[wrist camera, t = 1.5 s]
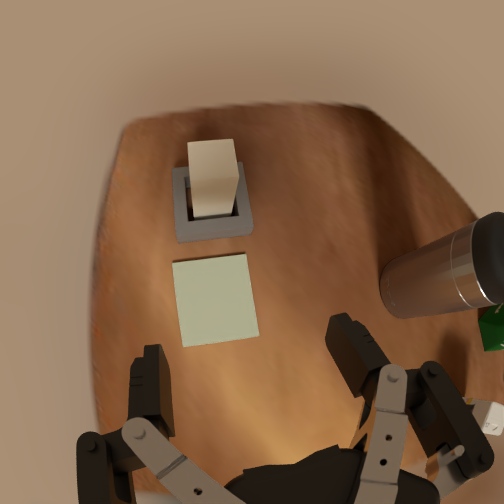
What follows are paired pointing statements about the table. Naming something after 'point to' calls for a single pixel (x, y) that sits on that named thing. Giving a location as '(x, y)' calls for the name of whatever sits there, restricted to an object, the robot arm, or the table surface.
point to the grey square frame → (210, 227)
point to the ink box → (487, 415)
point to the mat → (214, 300)
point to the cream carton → (212, 178)
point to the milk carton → (493, 328)
